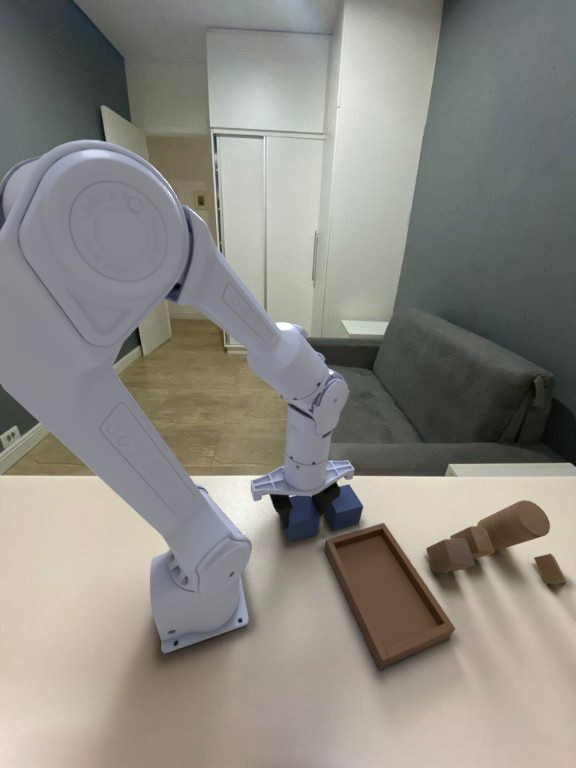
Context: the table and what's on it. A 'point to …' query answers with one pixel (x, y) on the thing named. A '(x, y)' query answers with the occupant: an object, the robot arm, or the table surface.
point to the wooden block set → (496, 540)
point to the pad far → (344, 509)
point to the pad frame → (386, 594)
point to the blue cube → (302, 518)
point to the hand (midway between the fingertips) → (299, 519)
